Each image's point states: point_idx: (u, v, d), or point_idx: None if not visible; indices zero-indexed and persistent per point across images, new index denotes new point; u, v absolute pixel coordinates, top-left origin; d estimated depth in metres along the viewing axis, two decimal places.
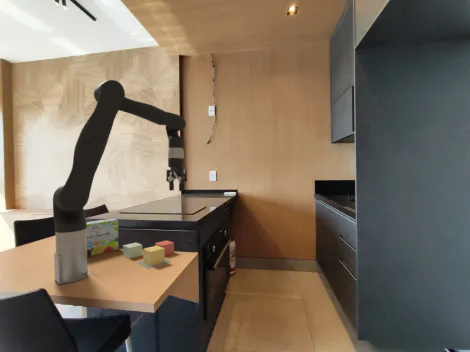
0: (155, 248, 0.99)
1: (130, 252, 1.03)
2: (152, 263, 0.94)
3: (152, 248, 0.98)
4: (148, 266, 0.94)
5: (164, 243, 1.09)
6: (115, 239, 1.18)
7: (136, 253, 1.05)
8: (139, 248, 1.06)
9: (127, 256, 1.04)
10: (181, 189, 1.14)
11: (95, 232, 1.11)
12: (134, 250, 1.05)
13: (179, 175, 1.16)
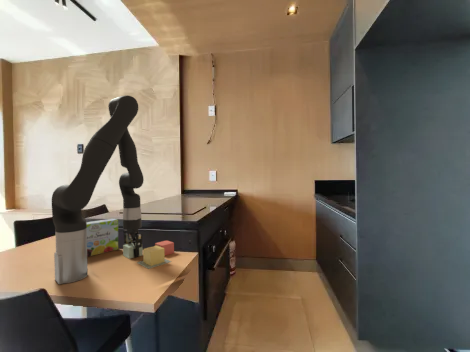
0: (155, 248, 0.99)
1: (130, 252, 1.03)
2: (152, 263, 0.94)
3: (152, 248, 0.98)
4: (148, 266, 0.94)
5: (164, 243, 1.09)
6: (115, 239, 1.18)
7: None
8: (139, 248, 1.06)
9: (127, 256, 1.04)
10: (135, 255, 1.04)
11: (95, 232, 1.11)
12: None
13: (135, 238, 1.05)
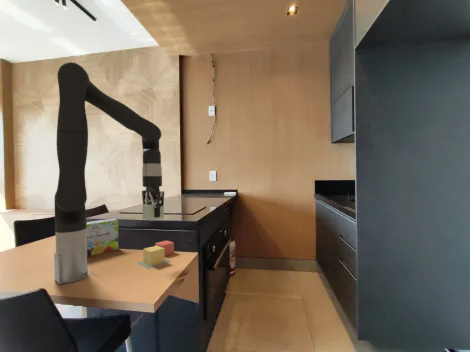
0: (155, 248, 0.99)
1: (151, 211, 0.95)
2: (152, 263, 0.94)
3: (152, 248, 0.98)
4: (148, 266, 0.94)
5: (164, 243, 1.09)
6: (115, 239, 1.18)
7: None
8: (160, 208, 0.97)
9: (148, 215, 0.95)
10: (157, 215, 0.95)
11: (95, 232, 1.11)
12: None
13: (155, 197, 0.96)
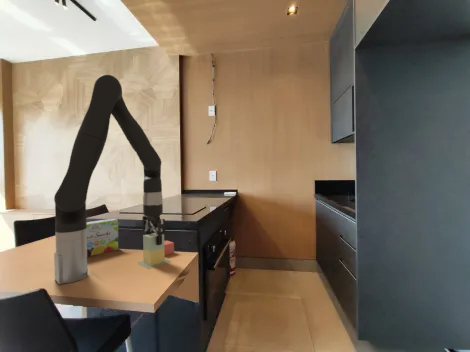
0: None
1: (152, 243, 0.94)
2: (152, 263, 0.94)
3: None
4: (148, 266, 0.94)
5: (164, 243, 1.09)
6: (115, 239, 1.18)
7: None
8: None
9: (148, 247, 0.95)
10: (158, 243, 0.94)
11: (95, 232, 1.11)
12: None
13: (156, 225, 0.96)
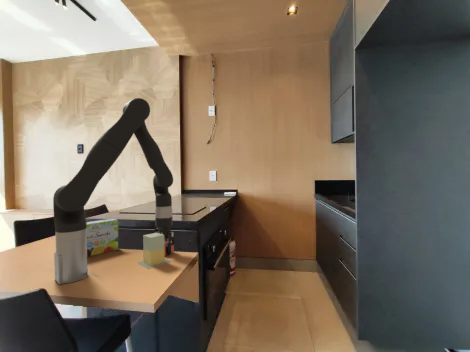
0: None
1: (152, 243, 0.94)
2: (152, 263, 0.94)
3: None
4: (148, 266, 0.94)
5: (164, 243, 1.09)
6: (115, 239, 1.18)
7: (158, 243, 0.96)
8: (161, 238, 0.97)
9: (148, 247, 0.95)
10: (168, 253, 1.06)
11: (95, 232, 1.11)
12: (156, 241, 0.96)
13: (167, 236, 1.08)
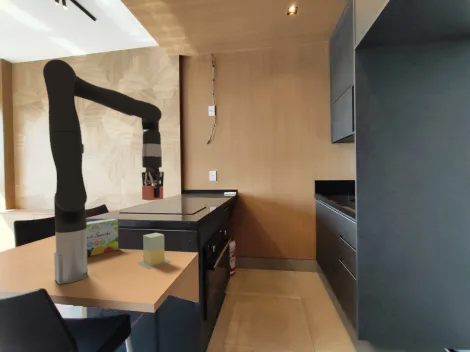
0: None
1: (152, 243, 0.94)
2: (152, 263, 0.94)
3: None
4: (148, 266, 0.94)
5: None
6: (115, 239, 1.18)
7: (158, 243, 0.96)
8: (161, 238, 0.97)
9: (148, 247, 0.95)
10: (156, 195, 0.95)
11: (95, 232, 1.11)
12: (156, 241, 0.96)
13: (155, 178, 0.96)
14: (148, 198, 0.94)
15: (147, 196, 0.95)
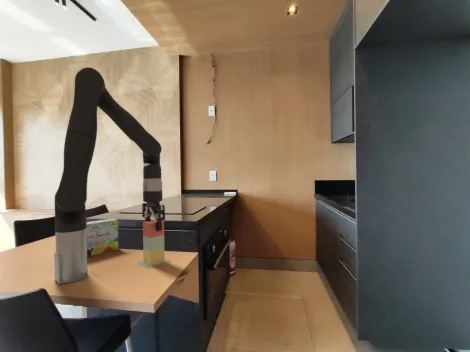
0: None
1: (152, 243, 0.94)
2: (152, 263, 0.94)
3: None
4: (148, 266, 0.94)
5: (153, 222, 0.97)
6: (115, 239, 1.18)
7: (158, 243, 0.96)
8: (161, 238, 0.97)
9: (148, 247, 0.95)
10: (158, 229, 0.94)
11: (95, 232, 1.11)
12: (156, 241, 0.96)
13: (156, 211, 0.96)
14: (149, 235, 0.94)
15: (148, 233, 0.95)
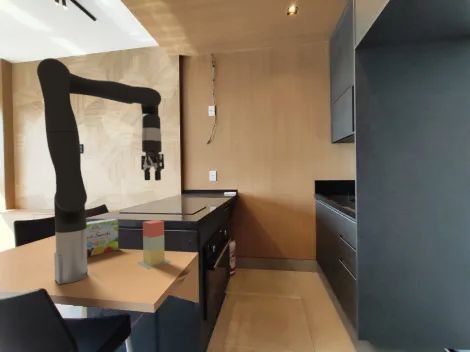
0: None
1: (152, 243, 0.94)
2: (152, 263, 0.94)
3: None
4: (148, 266, 0.94)
5: (153, 222, 0.97)
6: (115, 239, 1.18)
7: (158, 243, 0.96)
8: (161, 238, 0.97)
9: (148, 247, 0.95)
10: (157, 178, 0.94)
11: (95, 232, 1.11)
12: (156, 241, 0.96)
13: (155, 161, 0.96)
14: (149, 235, 0.94)
15: (148, 233, 0.95)
